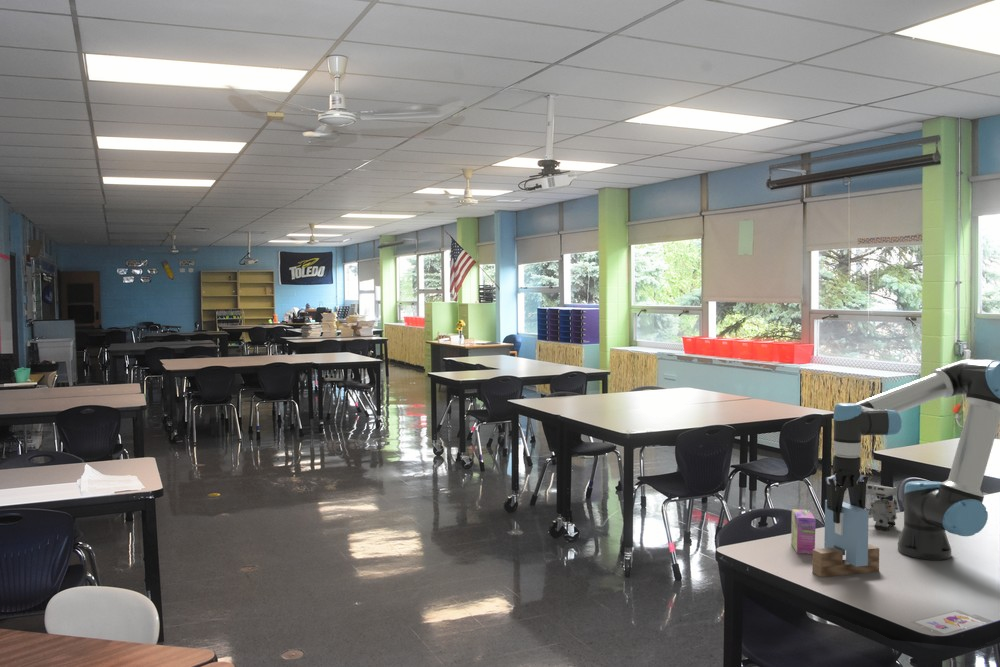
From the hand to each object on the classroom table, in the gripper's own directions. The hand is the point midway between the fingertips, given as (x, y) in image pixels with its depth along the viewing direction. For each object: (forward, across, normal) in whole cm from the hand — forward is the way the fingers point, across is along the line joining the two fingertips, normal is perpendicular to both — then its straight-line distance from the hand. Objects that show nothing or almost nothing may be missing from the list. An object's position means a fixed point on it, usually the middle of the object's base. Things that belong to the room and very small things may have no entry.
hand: (845, 533), depth 228 cm
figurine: (+12, -44, -38) cm, 59 cm away
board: (+8, 0, 0) cm, 8 cm away
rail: (+12, 0, 0) cm, 12 cm away
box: (+12, -2, -22) cm, 25 cm away
